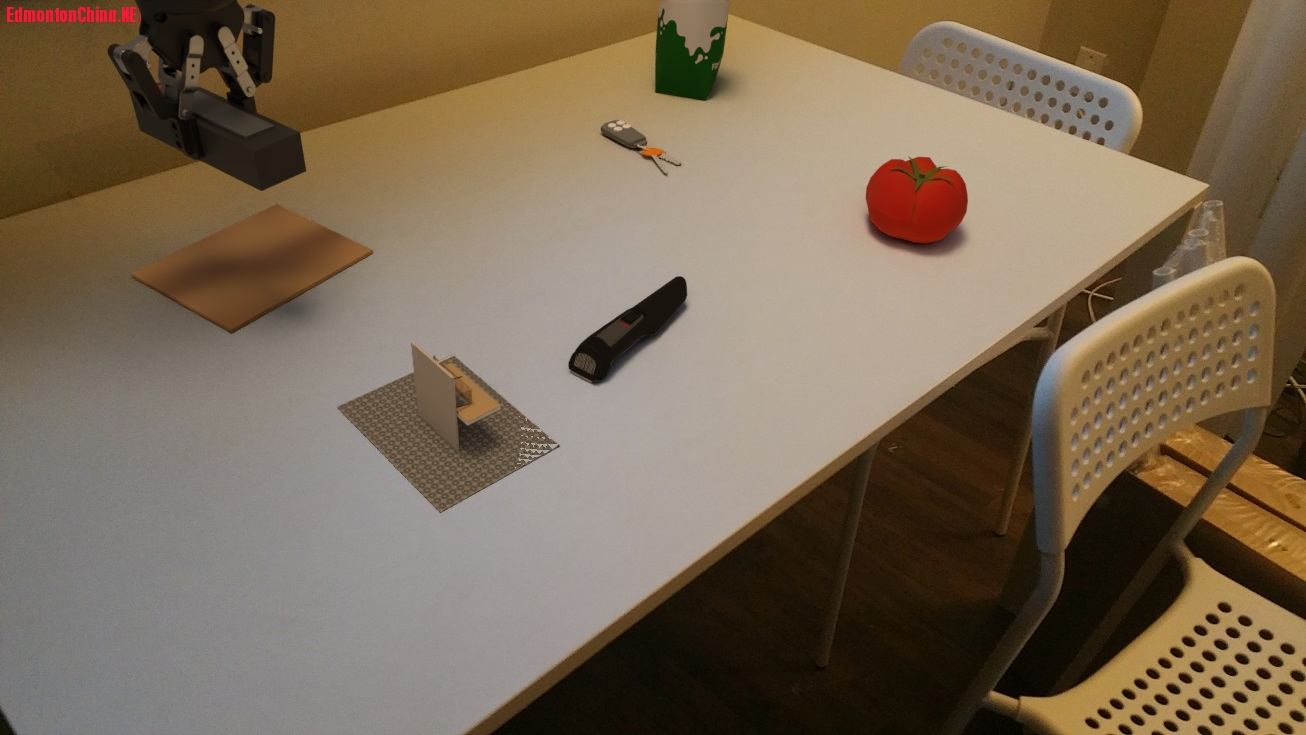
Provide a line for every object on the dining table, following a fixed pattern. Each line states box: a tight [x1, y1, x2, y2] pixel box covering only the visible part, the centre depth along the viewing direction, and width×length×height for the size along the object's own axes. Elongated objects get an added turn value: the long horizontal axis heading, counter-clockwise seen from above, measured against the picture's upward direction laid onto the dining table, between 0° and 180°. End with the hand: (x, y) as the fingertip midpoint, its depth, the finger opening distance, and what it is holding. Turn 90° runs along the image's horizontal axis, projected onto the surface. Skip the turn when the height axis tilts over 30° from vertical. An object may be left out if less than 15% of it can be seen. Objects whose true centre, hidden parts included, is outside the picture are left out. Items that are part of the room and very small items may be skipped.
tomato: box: [865, 156, 969, 244], centre depth 108 cm, size 11×11×8 cm
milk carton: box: [654, 0, 731, 101], centre depth 129 cm, size 9×9×20 cm
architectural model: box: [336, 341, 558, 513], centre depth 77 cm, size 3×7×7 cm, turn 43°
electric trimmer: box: [568, 275, 688, 384], centre depth 90 cm, size 4×16×3 cm, turn 145°
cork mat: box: [130, 203, 374, 334], centre depth 95 cm, size 14×17×1 cm
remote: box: [129, 81, 307, 192], centre depth 83 cm, size 16×5×4 cm, turn 56°
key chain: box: [600, 119, 683, 175], centre depth 119 cm, size 13×4×2 cm, turn 41°
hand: (219, 144), depth 84 cm, fingers closed on remote, 4 cm apart
